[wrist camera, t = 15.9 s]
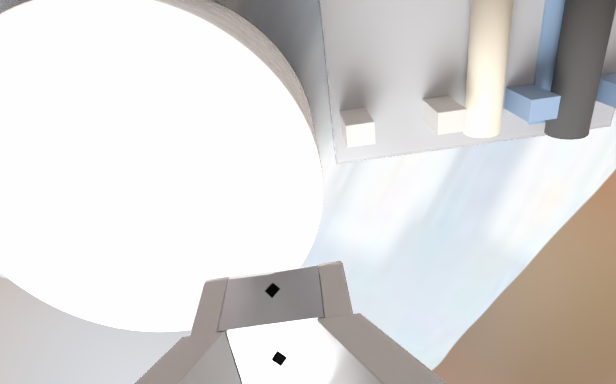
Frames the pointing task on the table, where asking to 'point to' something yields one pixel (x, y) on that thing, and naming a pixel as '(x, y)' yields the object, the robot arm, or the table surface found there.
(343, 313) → the robot arm
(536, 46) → the rod display rack
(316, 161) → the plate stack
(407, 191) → the table surface
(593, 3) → the dark gray rod
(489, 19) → the rod
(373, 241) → the table surface
